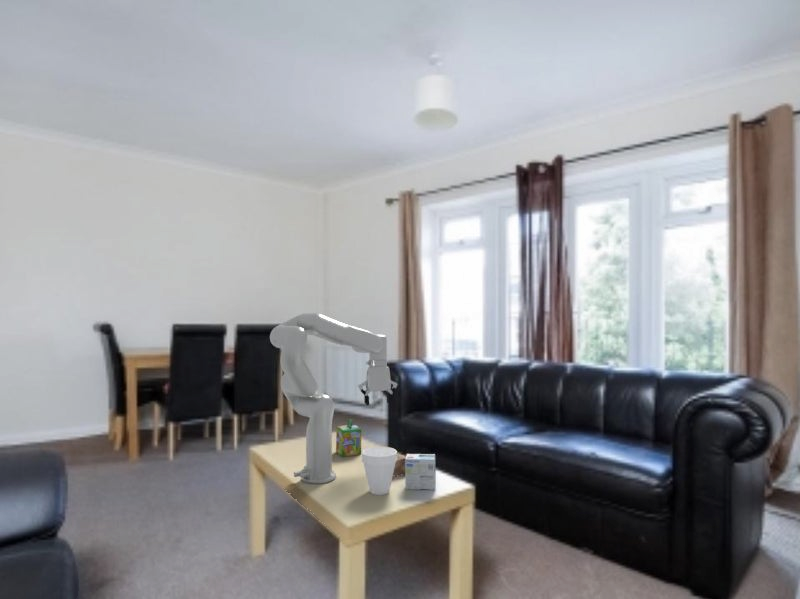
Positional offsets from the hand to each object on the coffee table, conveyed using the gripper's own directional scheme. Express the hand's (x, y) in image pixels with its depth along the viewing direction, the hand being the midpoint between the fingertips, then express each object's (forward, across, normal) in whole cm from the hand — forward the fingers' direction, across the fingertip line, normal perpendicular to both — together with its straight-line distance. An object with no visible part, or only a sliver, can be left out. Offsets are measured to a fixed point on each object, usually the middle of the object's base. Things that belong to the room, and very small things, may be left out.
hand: (378, 404), depth 198 cm
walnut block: (+24, +2, -18) cm, 30 cm away
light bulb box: (+24, +5, -35) cm, 43 cm away
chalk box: (+24, -9, +14) cm, 29 cm away
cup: (+24, -10, -34) cm, 43 cm away
